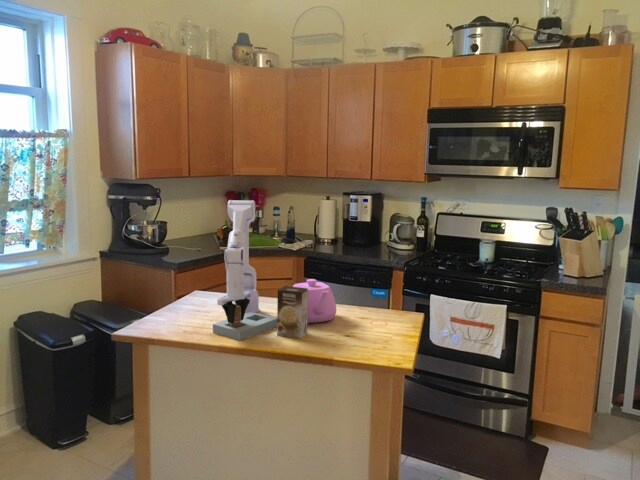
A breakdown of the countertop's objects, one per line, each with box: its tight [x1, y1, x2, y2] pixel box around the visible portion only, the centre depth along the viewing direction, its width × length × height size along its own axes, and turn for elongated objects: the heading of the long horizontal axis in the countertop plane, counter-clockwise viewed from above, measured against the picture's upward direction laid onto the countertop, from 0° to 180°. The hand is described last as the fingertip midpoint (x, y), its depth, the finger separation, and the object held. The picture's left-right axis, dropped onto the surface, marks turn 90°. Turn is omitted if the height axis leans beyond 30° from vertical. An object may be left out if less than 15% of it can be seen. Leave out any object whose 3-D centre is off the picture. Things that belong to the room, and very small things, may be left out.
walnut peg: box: [230, 305, 241, 328], centre depth 181 cm, size 4×4×8 cm
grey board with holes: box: [212, 312, 277, 341], centre depth 186 cm, size 19×13×3 cm
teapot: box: [292, 278, 337, 325], centre depth 194 cm, size 23×21×15 cm
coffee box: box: [276, 285, 308, 339], centre depth 180 cm, size 9×6×16 cm
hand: (235, 321), depth 181 cm, fingers closed on walnut peg, 4 cm apart
